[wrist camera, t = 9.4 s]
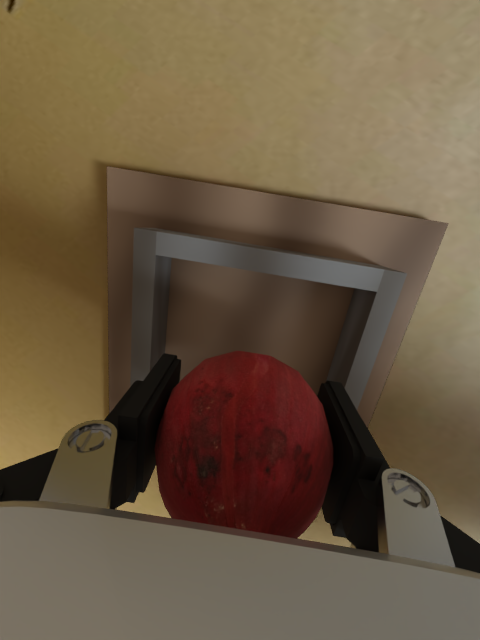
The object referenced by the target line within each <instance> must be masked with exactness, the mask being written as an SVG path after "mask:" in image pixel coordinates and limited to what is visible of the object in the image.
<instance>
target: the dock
mask: <svg viewBox="0 0 480 640" xmlns="http://www.w3.org/2000/svg"><path fill="white" fill-rule="evenodd" d="M447 226H448V223H443V222H437V221H431V220H425V219H419V218H413V217H408V216H402V215H396V214H390V213H384V212H378V211H372V210H366V209H360V208H354V207H348V206H342V205H336V204H330V203H324V202H318V201H312V200H306V199H300V198H294V197H288V196H282V195H276V194H270V193H264V192H258V191H252V190H246V189H240V188H234V187H228V186H222V185H216V184H210V183H204V182H198V181H192V180H186V179H180V178H174V177H169V176H163V175H157V174H151V173H145V172H139V171H133V170H127V169H121V168H115V167H109V166H107V231H108V340H109V414H110V412H111V411H112V410H113V408H114V407H115V406H116V405H117V403H118V402H119V401H120V400H121V398H122V397H123V396H124V394H125V393H126V392H127V391H128V389H129V388H130V387H131V385H132V384H133V383H134V382H135V381H136V380H140V381H144V379H145V378H146V376H147V375H148V374H149V372H150V371H151V370H152V368H153V367H154V365H155V364H156V363H157V361H158V360H159V359H160V357H161V356H162V355H163V353H166V354H172V355H177V359H181V371H180V381H181V380H182V379H183V378H184V377H185V376H186V375H187V374H188V373H190V372H191V371H192V370H193V369H194V368H195V367H196V366H198V365H199V364H200V363H201V362H202V361H203V360H204V359H207V358H211V357H215V356H219V355H222V354H226V353H230V352H234V351H245V352H251V353H257V354H264V355H269V356H272V357H274V358H276V359H277V360H279V361H281V362H283V363H284V364H286V365H288V366H290V367H292V368H293V369H295V370H297V371H298V372H299V373H300V374H301V376H302V377H303V378H304V379H305V381H306V382H307V383H308V385H309V386H310V387H311V388H312V390H313V391H314V392H315V394H316V396H317V395H318V392H319V389H320V385H321V384H322V383H325V382H326V381H327V380H329V381H335V382H340V383H342V385H343V386H344V388H345V390H346V392H347V394H348V395H349V397H350V399H351V401H352V402H353V404H354V406H355V408H356V410H357V411H358V413H359V415H360V417H361V418H362V420H363V421H364V423H365V425H366V427H367V428H368V426H369V423H370V421H371V418H372V416H373V413H374V410H375V408H376V405H377V403H378V400H379V398H380V395H381V393H382V390H383V388H384V385H385V383H386V380H387V378H388V375H389V373H390V370H391V368H392V365H393V362H394V360H395V357H396V355H397V352H398V350H399V347H400V345H401V342H402V340H403V337H404V335H405V332H406V330H407V327H408V325H409V322H410V319H411V317H412V314H413V312H414V309H415V307H416V304H417V302H418V299H419V297H420V294H421V292H422V289H423V287H424V284H425V282H426V279H427V277H428V274H429V271H430V269H431V266H432V264H433V261H434V259H435V256H436V254H437V251H438V249H439V246H440V244H441V241H442V239H443V236H444V234H445V231H446V228H447ZM180 381H179V382H180Z"/></svg>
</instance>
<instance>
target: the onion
mask: <svg viewBox="0 0 480 640" xmlns="http://www.w3.org/2000/svg"><path fill="white" fill-rule="evenodd" d="M155 458H156V466H157V475H158V483H159V491H160V494H161V497H162V499H163V502H164V505H165V507H166V509H167V511H168V512H169V514H170V516H171V518H172V519H178V520H185V521H191V522H197V523H204V524H210V525H216V526H222V527H228V528H235V529H241V530H247V531H253V532H259V533H265V534H271V535H277V536H283V537H289V538H295V539H297V538H298V537H299V536H300V535H301V534H302V533H303V532H304V531H305V530H306V529H307V528H308V527H309V526H310V524H311V523H312V522H313V521H314V519H315V518H316V516H317V514H318V513H319V511H320V509H321V507H322V505H323V502H324V498H325V495H326V491H327V488H328V484H329V480H330V476H331V472H332V468H333V443H332V438H331V434H330V430H329V426H328V423H327V419H326V415H325V412H324V408H323V405H322V403H321V402H320V400H319V399H318V397H317V396H316V394H315V392H314V391H313V390H312V388H311V387H310V386H309V385H308V383H307V382H306V381H305V379H304V378H303V377H302V376H301V374H300V373H299V372H298V371H297V370H295V369H293V368H292V367H290V366H288V365H286V364H284V363H283V362H281V361H279V360H277V359H276V358H274V357H272V356H269V355H264V354H257V353H251V352H245V351H234V352H230V353H226V354H222V355H219V356H215V357H211V358H207V359H204V360H203V361H202V362H201V363H200V364H199V365H198V366H196V367H195V368H194V369H193V370H192V371H191V372H190V373H188V374H187V375H186V376H185V377H184V378H183V379H182V380H181V381H180V382H179V383H178V384H177V385H176V386H175V387H174V388H173V390H172V392H171V395H170V397H169V400H168V403H167V405H166V408H165V410H164V413H163V416H162V418H161V421H160V424H159V427H158V429H157V433H156V441H155Z"/></svg>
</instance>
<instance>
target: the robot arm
mask: <svg viewBox="0 0 480 640" xmlns="http://www.w3.org/2000/svg"><path fill="white" fill-rule="evenodd" d="M180 371H181V359H177V355H172V354H166V353H163V355H162V356H161V357H160V359H159V360H158V361H157V363H156V364H155V365H154V367H153V368H152V370H151V371H150V372H149V374H148V375H147V376H146V378H145V379H144V381H140V380H136V381H135V382H134V383H133V384H132V385H131V387H130V388H129V389H128V391H127V392H126V393H125V394H124V396H123V397H122V398H121V400H120V401H119V402H118V403H117V405H116V406H115V407H114V408H113V410H112V411H111V412H110V414H109V415H108V416H107V417H106V419H105V420H92V421H86V422H84V423H81V424H78V425H77V426H75V427H73V428H72V429H70V430H69V431H68V432H67V433H66V434H65V436H64V437H63V439H62V441H61V444H60V446H59V448H58V449H55V450H53V451H50V452H47V453H45V454H42V455H39V456H36V457H34V458H31V459H28V460H26V461H23V462H20V463H17V464H15V465H12V466H9V467H7V468H4V469H1V470H0V640H480V544H479V543H478V542H476V541H475V540H474V539H472V538H471V537H469V536H468V535H467V534H465V533H464V532H463V531H461V530H460V529H458V528H457V527H456V526H454V525H453V524H451V523H450V522H449V521H447V520H446V519H444V518H443V517H442V516H440V513H439V510H438V507H437V503H436V501H435V498H434V496H433V494H432V493H431V492H430V490H429V489H428V488H427V487H426V486H425V485H424V484H423V483H422V482H421V481H420V480H418V479H417V478H416V477H414V476H413V475H411V474H409V473H407V472H405V471H402V470H399V469H394V468H390V467H389V465H388V464H387V462H386V460H385V458H384V457H383V455H382V453H381V451H380V450H379V448H378V446H377V444H376V442H375V441H374V439H373V437H372V435H371V434H370V432H369V430H368V428H367V427H366V425H365V423H364V421H363V420H362V418H361V417H360V415H359V413H358V411H357V410H356V408H355V406H354V404H353V402H352V401H351V399H350V397H349V395H348V394H347V392H346V390H345V388H344V386H343V385H342V383H340V382H335V381H329V380H327V381H326V382H325V383H322V384H321V385H320V389H319V392H318V395H317V397H318V399H319V400H320V402H321V403H322V405H323V408H324V412H325V415H326V419H327V423H328V426H329V430H330V434H331V438H332V443H333V468H332V472H331V476H330V480H329V484H328V488H327V491H326V495H325V498H324V502H323V505H322V510H323V514H324V518H325V521H326V522H327V523H330V525H331V529H332V533H333V536H338V537H344V538H347V539H348V540H349V541H350V542H351V548H349V547H343V546H337V545H331V544H325V543H319V542H314V541H308V540H302V539H295V538H289V537H283V536H277V535H271V534H265V533H259V532H253V531H247V530H241V529H235V528H228V527H222V526H216V525H210V524H204V523H197V522H191V521H185V520H178V519H172V518H166V517H159V516H153V515H147V514H140V513H134V512H128V511H121V510H117V507H118V506H120V505H122V504H124V503H126V502H131V503H134V502H135V500H136V497H137V495H138V493H139V492H144V491H145V489H146V487H147V485H148V482H149V480H150V478H151V475H152V473H153V470H154V468H155V466H156V458H155V441H156V433H157V429H158V427H159V424H160V421H161V418H162V416H163V413H164V410H165V408H166V405H167V403H168V400H169V397H170V395H171V392H172V390H173V388H174V387H175V386H176V385H177V384H178V383H179V381H180Z"/></svg>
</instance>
